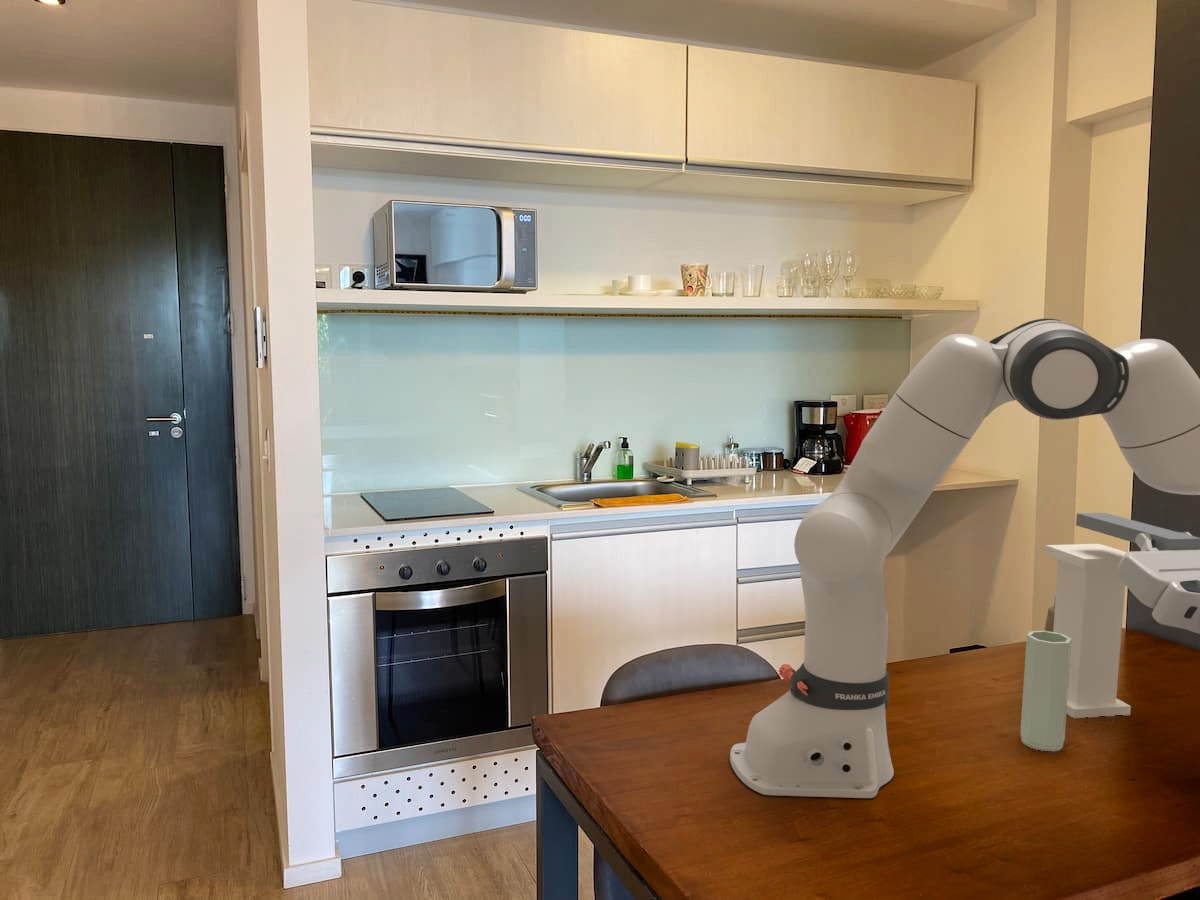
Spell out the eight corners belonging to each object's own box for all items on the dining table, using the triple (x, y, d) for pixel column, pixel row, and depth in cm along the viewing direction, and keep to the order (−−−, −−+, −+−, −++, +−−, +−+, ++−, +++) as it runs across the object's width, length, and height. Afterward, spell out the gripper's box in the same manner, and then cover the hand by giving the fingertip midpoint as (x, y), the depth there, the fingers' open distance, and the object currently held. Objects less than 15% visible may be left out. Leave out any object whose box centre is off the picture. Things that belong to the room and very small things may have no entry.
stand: (1073, 718, 146) (1085, 559, 143) (1035, 694, 156) (1045, 545, 153) (1130, 715, 148) (1142, 557, 144) (1088, 691, 157) (1099, 543, 154)
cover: (1169, 553, 129) (1170, 539, 129) (1076, 525, 149) (1076, 513, 149) (1200, 552, 130) (1201, 538, 130) (1103, 524, 150) (1104, 512, 149)
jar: (1036, 753, 133) (1043, 643, 131) (1013, 736, 139) (1019, 631, 137) (1071, 751, 134) (1079, 642, 132) (1047, 734, 140) (1054, 630, 138)
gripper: (1303, 585, 123) (1233, 517, 134) (1167, 590, 120) (1107, 521, 131) (1279, 617, 127) (1213, 549, 138) (1146, 623, 124) (1089, 553, 135)
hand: (1160, 535), depth 134 cm, fingers closed on cover, 5 cm apart
